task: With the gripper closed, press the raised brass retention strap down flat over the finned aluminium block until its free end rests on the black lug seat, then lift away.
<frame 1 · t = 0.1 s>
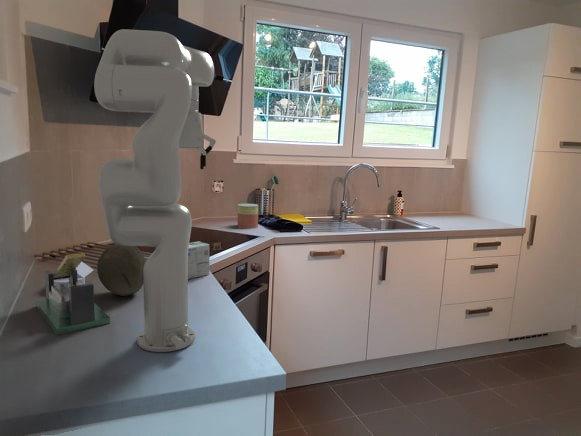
hand: (185, 168, 128), 37 cm above the counter, tool pointing down, fingers open, 9 cm apart
light bulb box: (191, 275, 152), on the counter
wedge on round base: (71, 286, 137), on the counter
retention strap: (67, 266, 114), point 12 cm above the counter, hinge at 30.0°
canned food: (247, 227, 244), on the counter
cooling block: (71, 314, 115), on the counter
cantaloupe: (123, 295, 131), on the counter
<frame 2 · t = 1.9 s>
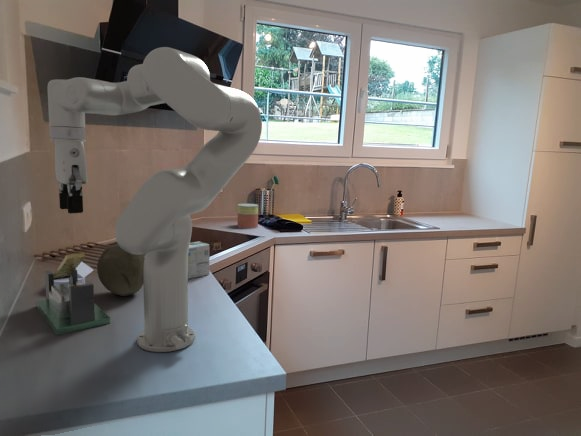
hand: (71, 210, 107), 28 cm above the counter, tool pointing down, fingers open, 6 cm apart
nothing on the counter moved.
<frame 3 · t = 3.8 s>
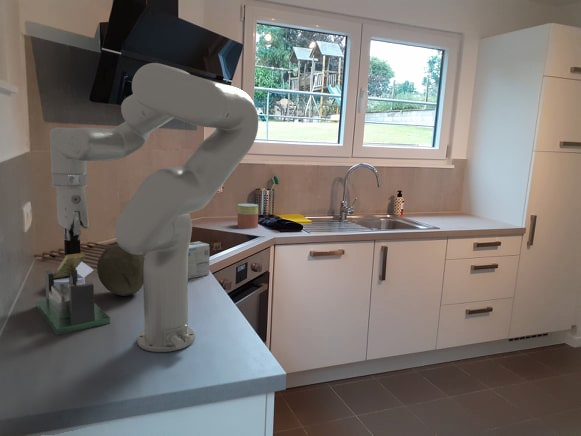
hand: (72, 255, 109), 16 cm above the counter, tool pointing down, fingers closed
retention strap: (67, 266, 114), point 12 cm above the counter, hinge at 30.0°, touching gripper
everything else where it was.
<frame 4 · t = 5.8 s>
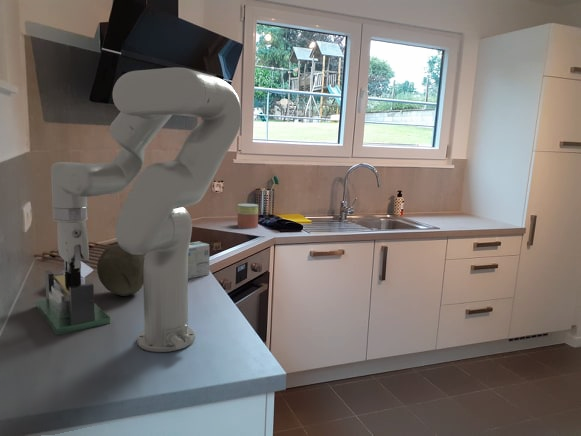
hand: (73, 286, 110), 8 cm above the counter, tool pointing down, fingers closed
retention strap: (69, 284, 114), point 8 cm above the counter, hinge at -0.2°, touching gripper
everything else where it was.
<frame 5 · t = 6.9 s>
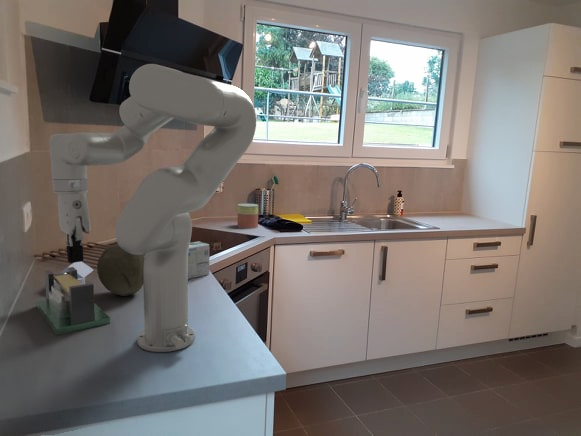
hand: (75, 261, 109), 15 cm above the counter, tool pointing down, fingers closed
retention strap: (69, 284, 114), point 8 cm above the counter, hinge at -0.2°
everything else where it was.
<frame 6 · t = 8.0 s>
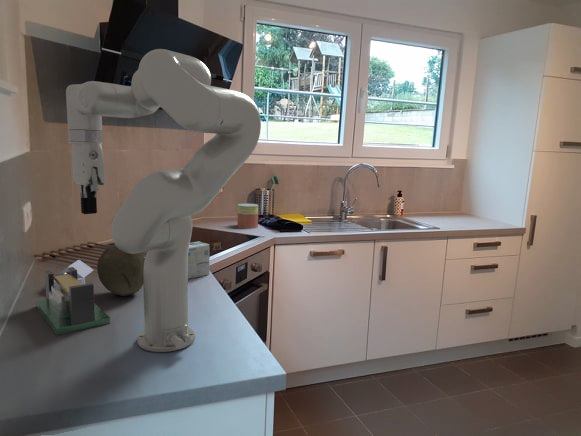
hand: (89, 213, 110), 27 cm above the counter, tool pointing down, fingers closed
nothing on the counter moved.
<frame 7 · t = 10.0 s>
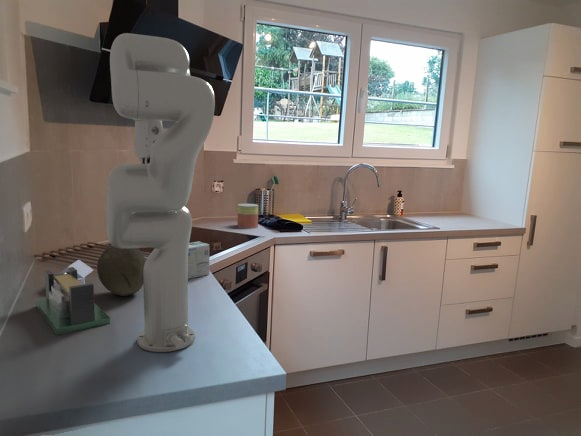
hand: (148, 183, 123), 33 cm above the counter, tool pointing down, fingers closed
nothing on the counter moved.
at the end: retention strap at +0° (first picture: +30°) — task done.
